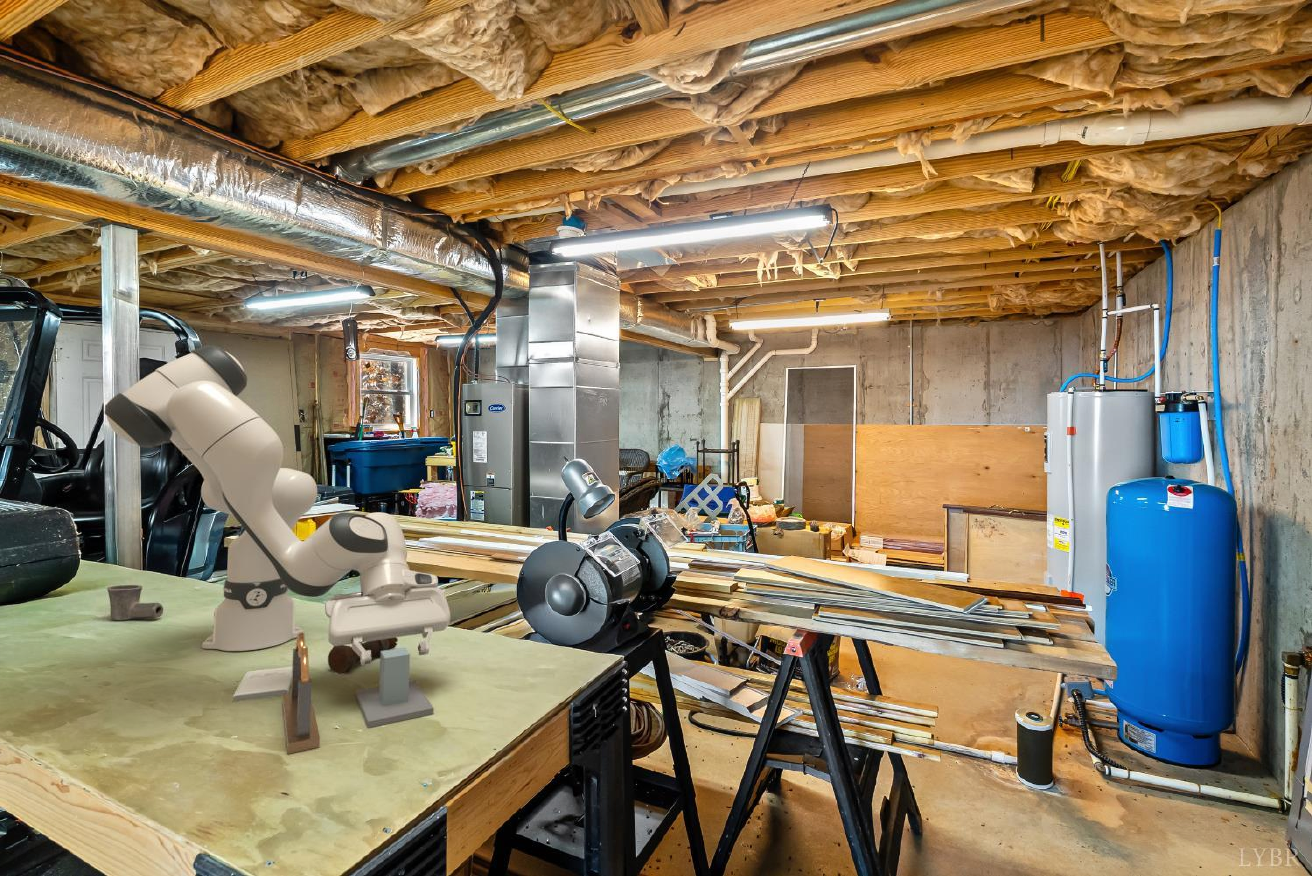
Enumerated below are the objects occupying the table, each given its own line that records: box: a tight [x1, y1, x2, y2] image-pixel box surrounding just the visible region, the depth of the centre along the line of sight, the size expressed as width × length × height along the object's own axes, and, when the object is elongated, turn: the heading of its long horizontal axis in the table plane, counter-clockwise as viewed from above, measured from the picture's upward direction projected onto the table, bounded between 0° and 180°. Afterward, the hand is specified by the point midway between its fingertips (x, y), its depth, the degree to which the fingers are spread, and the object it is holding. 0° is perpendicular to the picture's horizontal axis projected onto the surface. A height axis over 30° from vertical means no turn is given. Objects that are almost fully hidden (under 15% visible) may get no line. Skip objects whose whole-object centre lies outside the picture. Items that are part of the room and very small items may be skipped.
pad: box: [355, 679, 434, 729], centre depth 104 cm, size 14×10×1 cm
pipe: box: [106, 584, 164, 621], centre depth 149 cm, size 6×13×8 cm, turn 89°
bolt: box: [327, 637, 399, 674], centre depth 125 cm, size 6×5×15 cm
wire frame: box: [282, 631, 321, 755], centre depth 97 cm, size 20×4×14 cm, turn 34°
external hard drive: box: [232, 666, 292, 703], centre depth 111 cm, size 2×8×12 cm
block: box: [378, 647, 411, 706], centre depth 104 cm, size 4×4×8 cm
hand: (396, 657), depth 105 cm, fingers open, 8 cm apart
